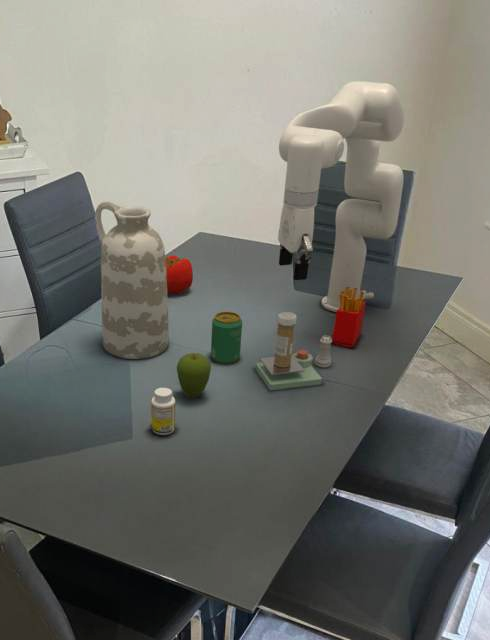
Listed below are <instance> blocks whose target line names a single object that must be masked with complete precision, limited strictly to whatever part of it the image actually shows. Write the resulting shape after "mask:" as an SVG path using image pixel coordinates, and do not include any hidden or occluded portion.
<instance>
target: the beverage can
mask: <svg viewBox="0 0 490 640" xmlns="http://www.w3.org/2000/svg"><path fill="white" fill-rule="evenodd" d="M242 331H243V320H242V318H241V315H240V314H239V313H237V312H233V311H219V312H217V313H216V314H215V315H214V317H213V318H212V321H211V339H210V340H211V342H210V357H211V358H212V360H213V361H214V362H216V363H218V364H223V365H229V364H233V363H236V362H237V361H238V360H239V358H240V357H241V345H242Z"/></svg>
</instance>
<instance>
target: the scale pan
mask: <svg viewBox="0 0 490 640" xmlns="http://www.w3.org/2000/svg"><path fill="white" fill-rule="evenodd" d="M274 360H275V356H269V357H260V358H259V361H260V363H263V364H264V366H265V367H266V368H267V370H268V371H269V373H270V374H271V375H279V374H288V373H296V372H305V370H304V369H303V368H302V366H301V365H300V364H299V363H298V361H297V360H296V359H295V358H294V356H293V355H291V365H290V366H288V367H278V366H276V365H275V364H274Z"/></svg>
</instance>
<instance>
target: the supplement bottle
mask: <svg viewBox="0 0 490 640" xmlns="http://www.w3.org/2000/svg"><path fill="white" fill-rule="evenodd" d="M150 407H151V408H150V409H151V430H152V432H154V433H155V434H157V435H161V436H167V435H170V434H172V433H174V431H175V430H176V398H175V397H174V396H173V391H172V389H170V388H168V387H159V388H156V389H155V390H154V396H153V397H152V398H151V401H150Z"/></svg>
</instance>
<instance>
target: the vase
mask: <svg viewBox="0 0 490 640" xmlns="http://www.w3.org/2000/svg"><path fill="white" fill-rule="evenodd" d="M104 210H107V211H110V212H112V213H113V216H114V218H115V220H116V225H115V226H113V227H112V228H110V230H109V231H108V232H107V234H106V232H105V228H104V226H103V221H102V213H103V211H104ZM150 217H151V211H150V209H148V208H147V207H144V206H139V205H138V206H137V205H132V206H131V205H130V206H128V205H127V206H120V205H118V204H115V203H113V202H110V201H103V202H100V203H99V204H98V205H97V207H96V209H95V211H94V225H95V228H96V233H97V235H98V239H99V243H100V246H101V251H100V252H101V253H100V279H101V280H100V282H101V285H100V286H101V329H102V331H101V332H102V345H103V348H104V350H105V351H106V352H107V353H108V354H110V355H112V356H113V357H117V358H121V359H125V360H126V359H128V360H143V359H148V358H149V359H150V358H153V357H156V356H159V355H161V354H163V353H164V352H165V351H166V350H167V349H168V347H169V342H170V341H169V339H170V338H169V336H170V335H169V332H170V331H169V300H168V299H169V297H168V293H167V276H166V259H165V258H166V251H165V245H164V242H163V239H162V237H161V236H160V233H158V232H157V230H156V229H155V228H153V227H152V226H150V224H149V218H150Z"/></svg>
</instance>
